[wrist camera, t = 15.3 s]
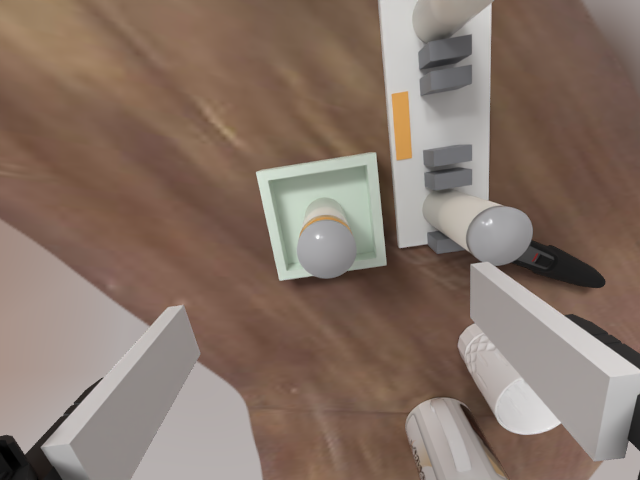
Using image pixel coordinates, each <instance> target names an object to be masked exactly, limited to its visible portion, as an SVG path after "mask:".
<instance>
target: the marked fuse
mask: <svg viewBox="0 0 640 480" xmlns="http://www.w3.org/2000/svg"><path fill="white" fill-rule="evenodd" d="M356 252H357V249H356V243H355V240H354V237H353V234H352V232H351V229H350V227H349V225H348V222H347V219H346V217H345V214H344V211H343V208H342V207H341V205H340V204H339V203H338V202H337V201H335V200H334V199H331V198H327V197H323V198H318V199H316V200H314V201H312V202H311V203H310V204H309V206H308V207H307V209H306V212H305V216H304V221H303V225H302V229H301V232H300V236H299V240H298V244H297V256H298V260H299V262H300V264H301V266H302V267H303V268H304V269H305V270H306V271H307V272H308V273H310V274H311V275H313V276H316V277H319V278H334V277H337V276H340V275H342V274H343V273H345V272H346V271H347V270H348V269H349V268H350V267H351V266H352V264H353V262H354V260H355V258H356Z"/></svg>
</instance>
